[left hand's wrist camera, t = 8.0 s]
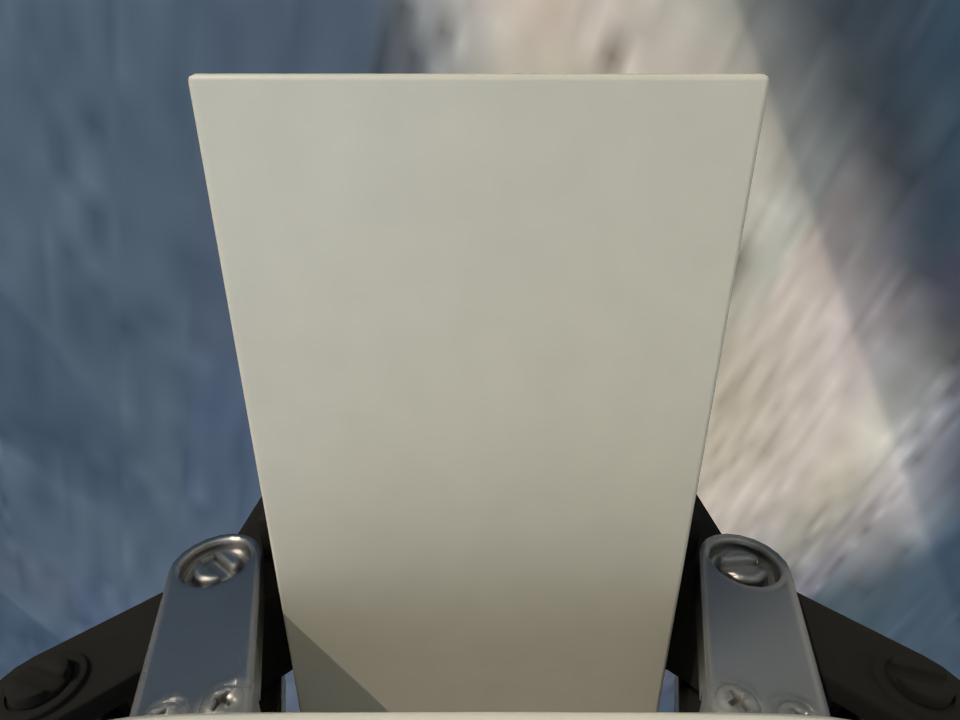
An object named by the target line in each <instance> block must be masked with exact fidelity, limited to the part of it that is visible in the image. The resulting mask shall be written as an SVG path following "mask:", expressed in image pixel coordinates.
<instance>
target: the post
mask: <svg viewBox="0 0 960 720" xmlns="http://www.w3.org/2000/svg"><path fill="white" fill-rule="evenodd" d="M188 82H189V87H190V93H191V98H192V104H193V110H194V115H195V121H196V127H197V132H198V138H199V144H200V149H201V155H202V160H203V166H204V172H205V177H206V183H207V189H208V194H209V200H210V205H211V211H212V217H213V222H214V228H215V234H216V239H217V245H218V251H219V256H220V262H221V267H222V273H223V279H224V284H225V290H226V296H227V301H228V307H229V312H230V318H231V324H232V329H233V335H234V341H235V346H236V352H237V358H238V363H239V369H240V374H241V380H242V386H243V391H244V397H245V403H246V408H247V414H248V420H249V425H250V431H251V436H252V442H253V448H254V453H255V459H256V465H257V470H258V476H259V481H260V487H261V493H262V498H263V504H264V510H265V515H266V521H267V527H268V532H269V538H270V543H271V549H272V555H273V560H274V566H275V572H276V577H277V583H278V588H279V594H280V600H281V605H282V611H283V617H284V622H285V628H286V634H287V639H288V645H289V650H290V656H291V662H292V667H293V673H294V679H295V684H296V690H297V695H298V701H299V707H300V712H658V707H659V702H660V696H661V690H662V685H663V679H664V674H665V668H666V662H667V657H668V651H669V645H670V640H671V634H672V628H673V623H674V617H675V611H676V606H677V600H678V594H679V589H680V583H681V577H682V572H683V566H684V560H685V555H686V549H687V544H688V538H689V532H690V527H691V521H692V515H693V510H694V504H695V498H696V493H697V487H698V481H699V476H700V470H701V464H702V459H703V453H704V447H705V442H706V436H707V431H708V425H709V419H710V414H711V408H712V402H713V397H714V391H715V385H716V380H717V374H718V368H719V363H720V357H721V351H722V346H723V340H724V334H725V329H726V323H727V318H728V312H729V306H730V301H731V295H732V289H733V284H734V278H735V272H736V267H737V261H738V255H739V250H740V244H741V238H742V233H743V227H744V221H745V216H746V210H747V204H748V199H749V193H750V188H751V182H752V176H753V171H754V165H755V159H756V154H757V148H758V142H759V137H760V131H761V125H762V120H763V114H764V108H765V103H766V97H767V91H768V86H769V77H768V76H766V75H764V74H194V75H192V76H190V77H189V81H188Z"/></svg>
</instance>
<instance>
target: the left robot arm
mask: <svg viewBox="0 0 960 720" xmlns="http://www.w3.org/2000/svg"><path fill="white" fill-rule="evenodd" d="M292 669H293V667H292V662H291V656H290V650H289V645H288V639H287V634H286V628H285V622H284V617H283V611H282V605H281V600H280V594H279V588H278V583H277V577H276V572H275V566H274V560H273V555H272V549H271V543H270V538H269V532H268V527H267V521H266V515H265V510H264V504H263V498H262V497H261V498H260V500H259V502H258V503H257V505H256V506H255V508H254V510H253V511H252V513H251V514H250V516H249V518H248V519H247V521H246V522H245V524H244V525H243V527H242V529H241V530H240V532H239V533H238V534H227V535H219V536H216V537H212V538H209V539H206V540H204V541H202V542H200V543H198V544H195V545H193V546H192V547H191V548H189V549H188V550H186V551H185V552H184V553H182V554H181V555H180V556H179V557H178V559H177V560H176V561H175V562H174V563H173V565H172V567H171V569H170V571H169V574H168V577H167V581H166V585H165V588H164V592H162V593H160V594H158V595H157V596H155V597H153V598H151V599H149V600H147V601H145V602H143V603H141V604H139V605H137V606H135V607H133V608H131V609H129V610H127V611H125V612H123V613H121V614H119V615H117V616H115V617H113V618H111V619H109V620H107V621H105V622H103V623H101V624H99V625H97V626H95V627H93V628H91V629H89V630H87V631H85V632H83V633H81V634H79V635H77V636H75V637H73V638H71V639H69V640H67V641H65V642H63V643H61V644H59V645H57V646H55V647H53V648H51V649H49V650H47V651H45V652H43V653H41V654H39V655H37V656H35V657H33V658H31V659H30V660H28V661H26V662H25V663H23V664H21V665H20V666H18V667H16V668H15V669H14V670H12V671H11V672H10V673H9V674H7V675H6V676H5V677H4V678H2V679H1V680H0V720H960V680H959V679H957V678H956V677H955V676H953V675H952V674H951V673H950V672H948V671H947V670H946V669H945V668H943V667H942V666H940V665H939V664H937V663H935V662H933V661H932V660H930V659H928V658H927V657H925V656H923V655H921V654H919V653H917V652H915V651H913V650H911V649H909V648H907V647H905V646H903V645H901V644H899V643H897V642H895V641H893V640H891V639H889V638H887V637H885V636H883V635H881V634H879V633H877V632H875V631H873V630H871V629H869V628H867V627H865V626H863V625H861V624H859V623H857V622H855V621H853V620H851V619H849V618H847V617H845V616H843V615H841V614H839V613H837V612H835V611H833V610H831V609H829V608H827V607H825V606H823V605H821V604H819V603H817V602H815V601H813V600H811V599H809V598H807V597H805V596H803V595H801V594H799V593H797V592H796V588H795V585H794V581H793V577H792V574H791V571H790V569H789V567H788V565H787V563H786V562H785V561H784V560H783V559H782V557H781V556H780V555H779V554H778V553H776V552H775V551H774V550H772V549H771V548H769V547H768V546H767V545H765V544H762V543H760V542H758V541H756V540H754V539H751V538H748V537H744V536H741V535H733V534H721V532H720V531H719V529H718V528H717V526H716V524H715V523H714V521H713V520H712V518H711V517H710V515H709V513H708V512H707V510H706V509H705V507H704V505H703V504H702V502H701V501H700V499H699V497H698V496H697V494H696V498H695V504H694V510H693V515H692V521H691V527H690V532H689V538H688V544H687V549H686V555H685V560H684V566H683V572H682V577H681V583H680V589H679V594H678V600H677V606H676V611H675V617H674V623H673V628H672V634H671V640H670V645H669V651H668V657H667V662H666V668H665V669H667V670H669V671H670V672H672V673H673V674H675V680H674V712H286V680H285V674H286V673H288V672H289V671H291V670H292Z"/></svg>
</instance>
